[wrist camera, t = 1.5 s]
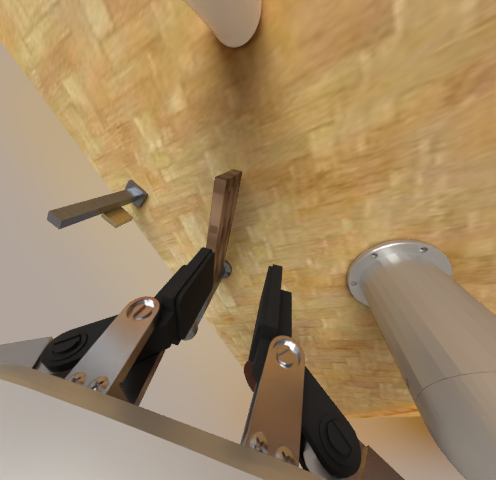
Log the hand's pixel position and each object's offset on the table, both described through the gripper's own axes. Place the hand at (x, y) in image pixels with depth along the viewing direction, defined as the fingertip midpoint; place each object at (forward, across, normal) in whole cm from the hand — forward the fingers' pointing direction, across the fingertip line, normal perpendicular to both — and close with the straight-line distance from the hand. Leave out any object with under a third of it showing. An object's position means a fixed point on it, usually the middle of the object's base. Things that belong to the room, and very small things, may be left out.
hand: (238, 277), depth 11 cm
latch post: (+17, +22, +4) cm, 28 cm away
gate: (+16, +5, +5) cm, 17 cm away
